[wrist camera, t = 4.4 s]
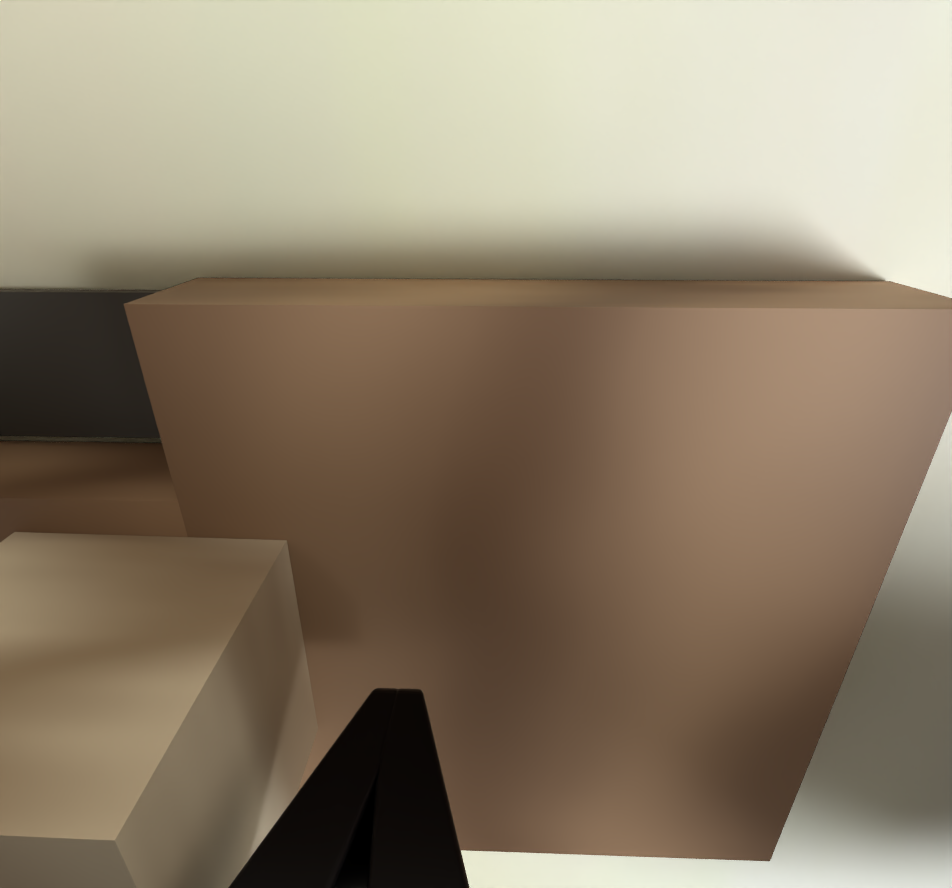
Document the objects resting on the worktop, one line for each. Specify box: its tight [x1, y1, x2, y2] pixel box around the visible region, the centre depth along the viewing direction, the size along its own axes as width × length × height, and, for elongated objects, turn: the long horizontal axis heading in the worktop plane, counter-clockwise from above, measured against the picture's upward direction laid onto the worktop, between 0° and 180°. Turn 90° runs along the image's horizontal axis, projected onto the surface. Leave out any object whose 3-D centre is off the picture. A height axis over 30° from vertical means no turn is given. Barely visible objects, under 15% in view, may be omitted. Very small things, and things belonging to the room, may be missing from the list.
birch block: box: [0, 532, 318, 888], centre depth 8 cm, size 4×4×4 cm
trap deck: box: [0, 278, 952, 861], centre depth 10 cm, size 23×12×4 cm, turn 90°
